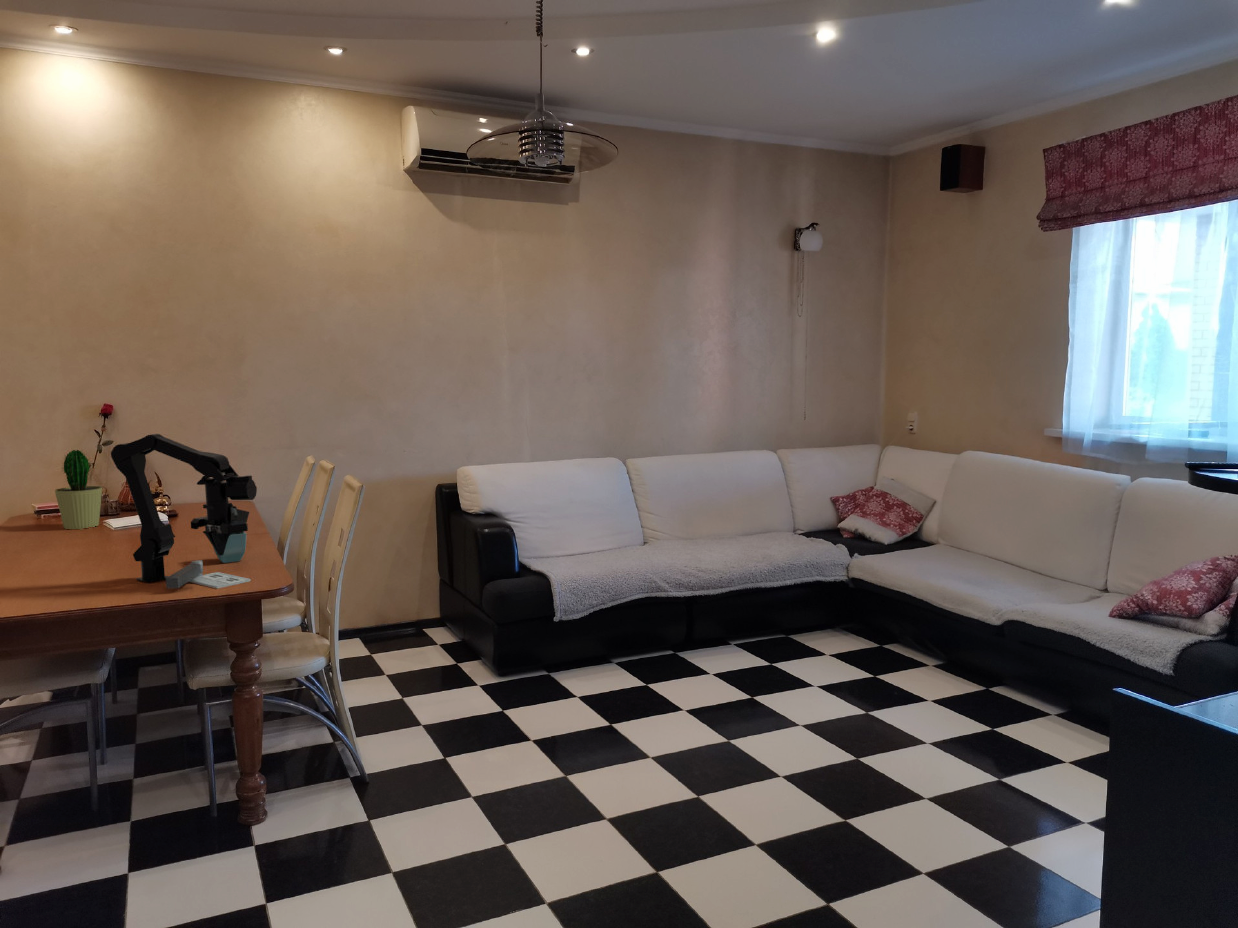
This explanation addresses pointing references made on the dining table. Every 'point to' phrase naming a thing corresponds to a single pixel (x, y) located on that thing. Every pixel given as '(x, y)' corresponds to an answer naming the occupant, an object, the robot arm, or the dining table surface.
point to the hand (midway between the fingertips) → (221, 555)
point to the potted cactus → (78, 494)
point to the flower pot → (234, 548)
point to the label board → (218, 580)
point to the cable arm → (184, 574)
